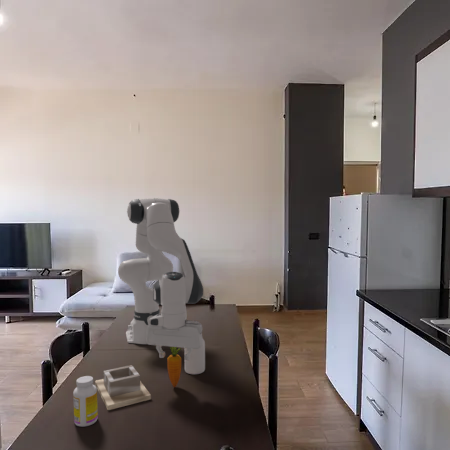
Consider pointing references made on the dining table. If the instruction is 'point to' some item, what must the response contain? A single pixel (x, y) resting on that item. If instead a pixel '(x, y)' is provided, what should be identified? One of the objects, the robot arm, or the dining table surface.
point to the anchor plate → (121, 387)
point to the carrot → (174, 366)
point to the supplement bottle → (85, 402)
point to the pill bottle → (195, 360)
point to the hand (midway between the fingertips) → (174, 358)
